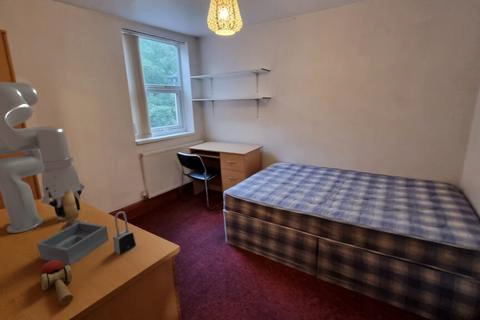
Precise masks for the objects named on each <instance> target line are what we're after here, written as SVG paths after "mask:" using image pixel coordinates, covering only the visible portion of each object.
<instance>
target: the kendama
mask: <svg viewBox="0 0 480 320" xmlns="http://www.w3.org/2000/svg"><path fill="white" fill-rule="evenodd" d="M39 275H40V283H41V284H40V286H41V288H42V290H43V291H46V290H48V289H49V288H50V287H51V285H53V284H54V285H55V290H56V294H57V296H58V302H59V304H60V305H61V306H67V305H68V304H70V303H71V302H72V301H73V299H74V295H73V294H72V293H71V291H70V290H69V289H68V287H67V286H66V284H65V283H69V282H71V281H72V280H73V273H72V268H71V266H69V265H64V264H63V263H62V262H61V261H59V260H52V261H48V262H46V263H45V264H44V265H43V266H42V267H41V268H40V271H39ZM64 282H65V283H64Z"/></svg>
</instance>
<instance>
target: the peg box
mask: <svg viewBox="0 0 480 320" xmlns="http://www.w3.org/2000/svg"><path fill="white" fill-rule="evenodd" d="M108 233H109V232H108V228H107V225H102V224H95V223H90V222H85V221H84V222H83V221H81V222H77V223H76V224H74V225H72V226H70V227H68V228H66V229H65V228H64V229H62V230H61V231H59V232H57V233H55V234H54V235H52V236H50V237H48V238H45V239H44V240H41V241H40V242H38V243H37V244H36V246H37V250H38V253H39V257H40V259H41V260H44V261H48V262H49V261H52V260H59V261H61V262H62V263H63V264H64V266H67V265H69V266H70V267H71V266H73V265H74V264H76V263H77V262H79V261H80V260H81V259H83V258H84V257H86V256H88V255H89V254H90V253H92V252H93V251H95V250H96V249H98V248H99V247H100V246H102V245H103V244H105V243H106V242H107V241H109V234H108Z"/></svg>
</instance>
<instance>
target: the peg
mask: <svg viewBox="0 0 480 320" xmlns="http://www.w3.org/2000/svg"><path fill="white" fill-rule="evenodd" d="M61 206H63V208H64V212H65V217H61V219H62V220H61V221H62V222H63V223H67V222H69V221H72V220H78V218H79V217H80V216H79V215H78V211H77V206H76V202H75V197H74V193H73V191H72V189H71V190H69V191H66V192H65V196H64V197H62V198H61Z"/></svg>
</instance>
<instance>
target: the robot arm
mask: <svg viewBox="0 0 480 320" xmlns="http://www.w3.org/2000/svg"><path fill="white" fill-rule="evenodd" d="M38 101H39V94H38V91H37V90H36V89H35V87H34V86H32V85H30V83H26V82H9V81H8V82H6V81H0V156H7V155H13V154H20V153H24V154H21V155H16V156H10V157H5V158H0V194H1V197H2V200H3V204H4V207H5V211H6V213H7V217H8V218H7V220H8V222H9V223H10V225H8V226H7V227H6V231H7V232H8V233H10V234H18V233H23V232H28V231H31V230H33V229H36V228H37V227H40V226H42V225H43V223H44V222H45V218H44V217H42V216H39V213H38V210H37V205H36V201H35V198H34V194H33V190H32V187H31V186H30V184H29V183H27V182H26V181H23V180H22V179H24V178H26V177H27V178H28V177H31V176H35V175H39V174H41V184H42V185H41V186H42V191H43V197H42V198H41V202H40V203H42V204H45V205H48V206H51V207H52V208H54V212H55V215H56V217H57V216H58V217H65V212H64V208H63V206H61V198H62V197H64V196H65V192H66V191H69V190H71V189H72V191H73V193H74V197H75V202H76V206H77V210H80V209H81V205H80V200H79V199H80V198H81V194H82V191H83V190H84V189H85V188H86V187H85V185H83V184H82V183H81V182H80V179H79V175H78V173H77V170H76V168H75V166H74V165H73V164H72V162H74V158H73V157H70V150H69V147H68V142H67V138H66V137H67V136H66V133H65V130H64V129H63V128H62V127H54V126H50V125H47V126H44V125H43V126H32V127H24V128H14V127H16V126H18V125H21V124H22V123H25V122H28V120H29V119H31V117H32V116H33V114H34V111H33V108H32V106H35V105H37V103H38ZM50 199H51V200H50ZM56 202H57V203H56ZM58 217H57V218H58Z"/></svg>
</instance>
